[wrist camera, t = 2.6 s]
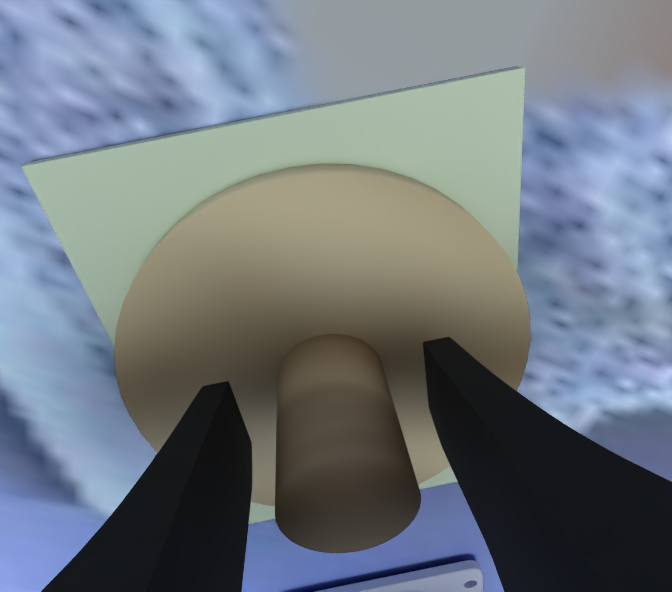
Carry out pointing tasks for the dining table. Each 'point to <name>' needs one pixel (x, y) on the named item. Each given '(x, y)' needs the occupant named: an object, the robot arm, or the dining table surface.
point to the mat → (278, 153)
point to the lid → (321, 336)
